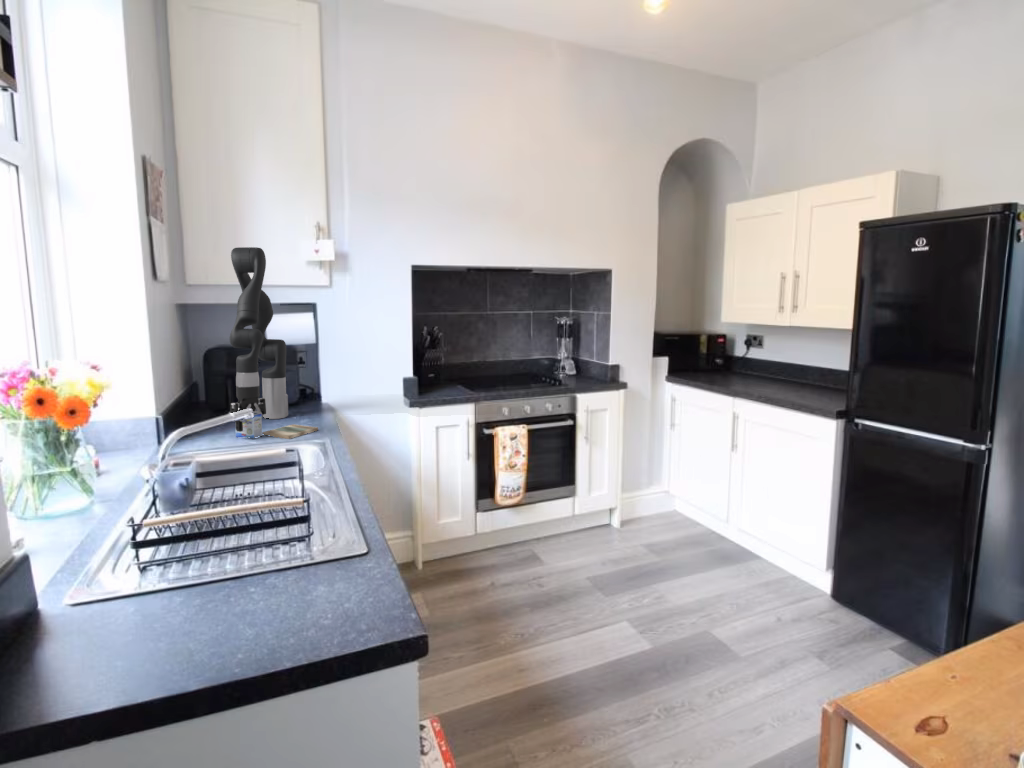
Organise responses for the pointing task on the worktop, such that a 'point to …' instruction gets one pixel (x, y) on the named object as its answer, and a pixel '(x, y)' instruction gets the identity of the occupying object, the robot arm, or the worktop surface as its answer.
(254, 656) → the worktop surface
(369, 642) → the worktop surface
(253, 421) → the medicine box
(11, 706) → the worktop surface
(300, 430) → the board
